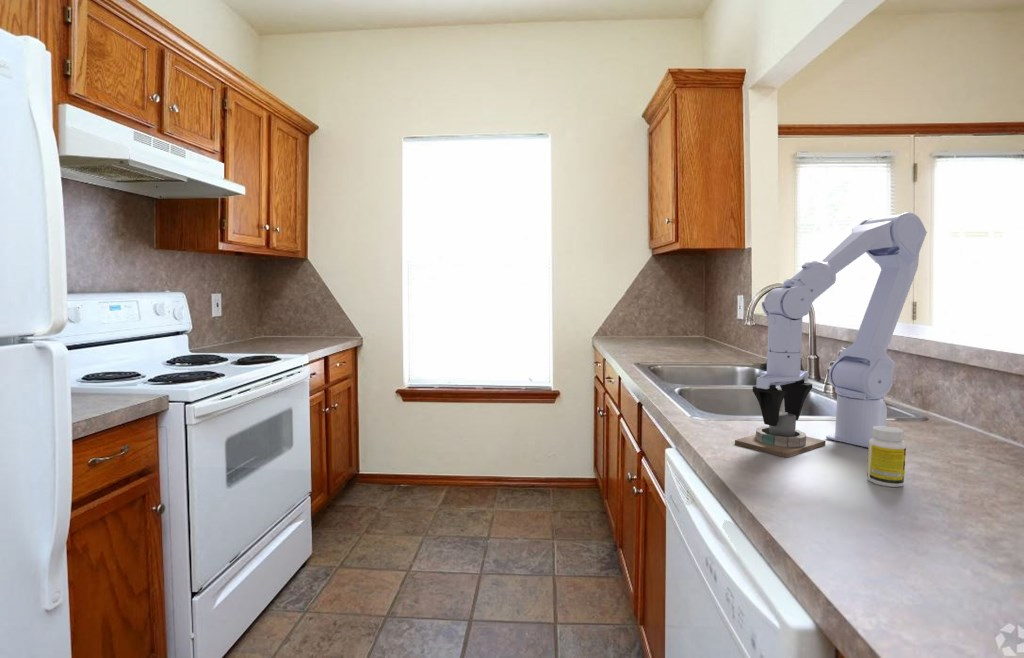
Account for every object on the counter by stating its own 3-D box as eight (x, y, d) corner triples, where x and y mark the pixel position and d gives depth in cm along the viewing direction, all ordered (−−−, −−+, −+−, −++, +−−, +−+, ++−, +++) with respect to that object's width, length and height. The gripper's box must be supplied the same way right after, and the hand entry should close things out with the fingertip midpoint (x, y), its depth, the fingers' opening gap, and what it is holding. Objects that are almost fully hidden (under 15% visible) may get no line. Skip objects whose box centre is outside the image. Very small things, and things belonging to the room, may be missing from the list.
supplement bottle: (910, 489, 81) (913, 433, 80) (875, 486, 82) (878, 431, 81) (894, 477, 85) (897, 425, 85) (861, 475, 86) (864, 424, 86)
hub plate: (774, 433, 111) (775, 421, 111) (825, 444, 103) (826, 432, 103) (734, 444, 103) (735, 431, 103) (786, 457, 95) (786, 444, 95)
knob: (777, 436, 106) (779, 409, 106) (799, 441, 102) (801, 413, 102) (763, 439, 104) (764, 411, 103) (785, 445, 100) (786, 416, 100)
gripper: (784, 346, 109) (781, 412, 110) (742, 351, 101) (740, 423, 102) (820, 350, 103) (817, 419, 104) (778, 355, 95) (776, 431, 96)
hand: (781, 422), depth 103 cm, fingers open, 7 cm apart
